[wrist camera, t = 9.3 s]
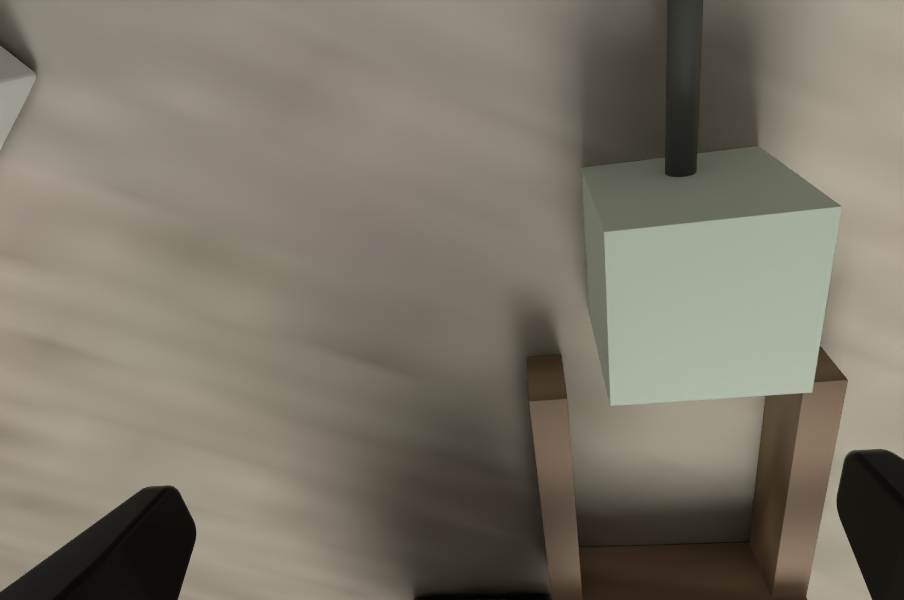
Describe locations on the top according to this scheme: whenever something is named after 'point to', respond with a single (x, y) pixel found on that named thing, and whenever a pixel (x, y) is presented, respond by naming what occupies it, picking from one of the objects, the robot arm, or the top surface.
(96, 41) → the top surface
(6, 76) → the milk carton
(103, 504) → the top surface
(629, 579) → the walnut lane
